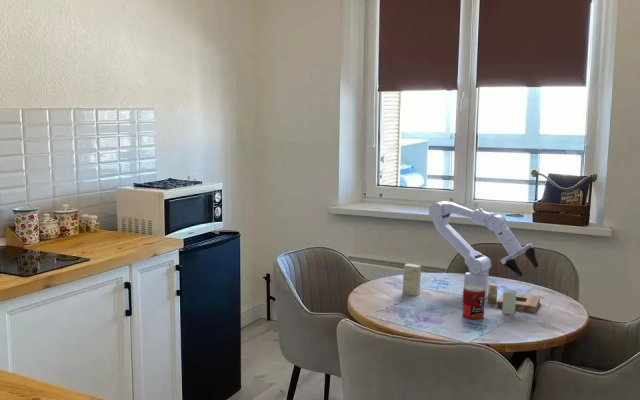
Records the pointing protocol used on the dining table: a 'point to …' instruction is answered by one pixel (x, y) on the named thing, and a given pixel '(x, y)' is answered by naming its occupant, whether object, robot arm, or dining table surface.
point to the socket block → (523, 303)
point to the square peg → (509, 301)
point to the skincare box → (411, 279)
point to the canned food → (473, 301)
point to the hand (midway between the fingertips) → (529, 271)
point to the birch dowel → (492, 293)
